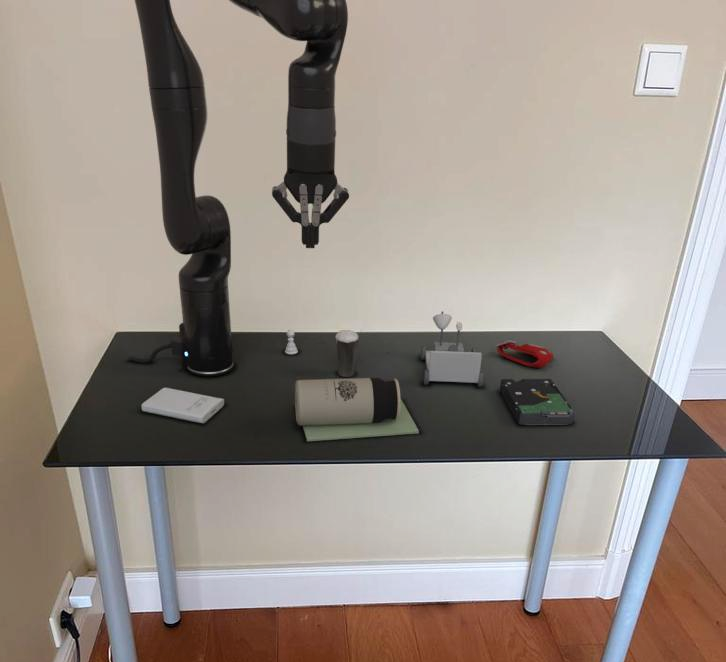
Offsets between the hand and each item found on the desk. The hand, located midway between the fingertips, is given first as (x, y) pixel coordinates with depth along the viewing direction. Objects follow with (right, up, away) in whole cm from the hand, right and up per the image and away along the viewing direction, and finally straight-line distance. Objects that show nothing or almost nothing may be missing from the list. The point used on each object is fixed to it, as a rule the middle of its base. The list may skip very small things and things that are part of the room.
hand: (309, 246), depth 128 cm
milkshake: (+6, -18, +28) cm, 33 cm away
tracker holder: (+44, -13, +37) cm, 59 cm away
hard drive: (-24, -26, +12) cm, 38 cm away
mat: (+8, -28, +11) cm, 31 cm away
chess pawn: (-7, -12, +36) cm, 39 cm away
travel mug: (-3, -26, +6) cm, 26 cm away
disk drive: (+42, -25, +18) cm, 52 cm away
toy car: (+27, -16, +31) cm, 44 cm away
